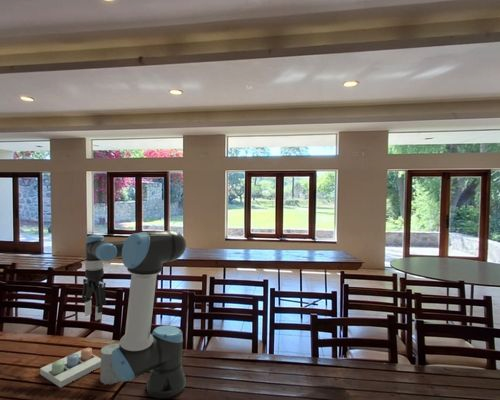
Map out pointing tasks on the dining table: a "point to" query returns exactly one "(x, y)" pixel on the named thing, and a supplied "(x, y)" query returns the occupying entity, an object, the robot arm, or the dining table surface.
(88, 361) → the panel
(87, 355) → the terracotta button
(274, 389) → the dining table surface
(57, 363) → the sage button
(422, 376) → the dining table surface
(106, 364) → the light grey cylinder
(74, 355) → the slate button
